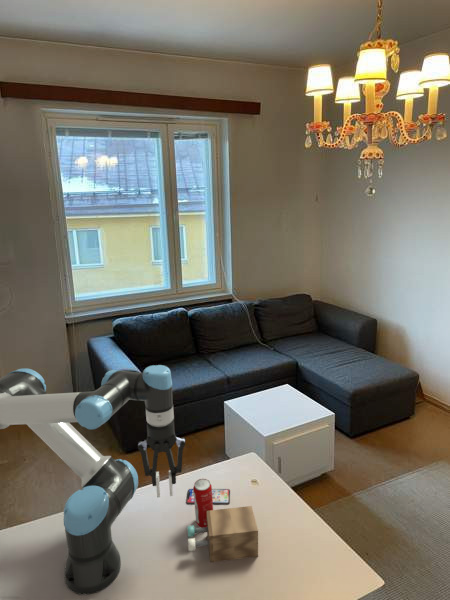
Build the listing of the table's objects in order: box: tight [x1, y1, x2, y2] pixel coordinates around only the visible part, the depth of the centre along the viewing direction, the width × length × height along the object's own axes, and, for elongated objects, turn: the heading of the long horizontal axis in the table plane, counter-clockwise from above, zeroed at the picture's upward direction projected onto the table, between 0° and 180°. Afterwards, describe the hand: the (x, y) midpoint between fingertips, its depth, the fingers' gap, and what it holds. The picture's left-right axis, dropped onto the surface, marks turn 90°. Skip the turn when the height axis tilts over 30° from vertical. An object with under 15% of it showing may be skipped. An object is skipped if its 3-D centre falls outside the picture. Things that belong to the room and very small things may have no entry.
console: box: [206, 505, 259, 563], centre depth 126 cm, size 14×10×9 cm
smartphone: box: [185, 488, 231, 506], centre depth 148 cm, size 8×1×15 cm
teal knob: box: [187, 524, 208, 538], centre depth 128 cm, size 8×3×3 cm, turn 97°
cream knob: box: [187, 537, 209, 552], centre depth 123 cm, size 8×3×3 cm, turn 97°
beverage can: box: [192, 478, 214, 528], centre depth 135 cm, size 6×6×15 cm
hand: (164, 493), depth 123 cm, fingers open, 3 cm apart
